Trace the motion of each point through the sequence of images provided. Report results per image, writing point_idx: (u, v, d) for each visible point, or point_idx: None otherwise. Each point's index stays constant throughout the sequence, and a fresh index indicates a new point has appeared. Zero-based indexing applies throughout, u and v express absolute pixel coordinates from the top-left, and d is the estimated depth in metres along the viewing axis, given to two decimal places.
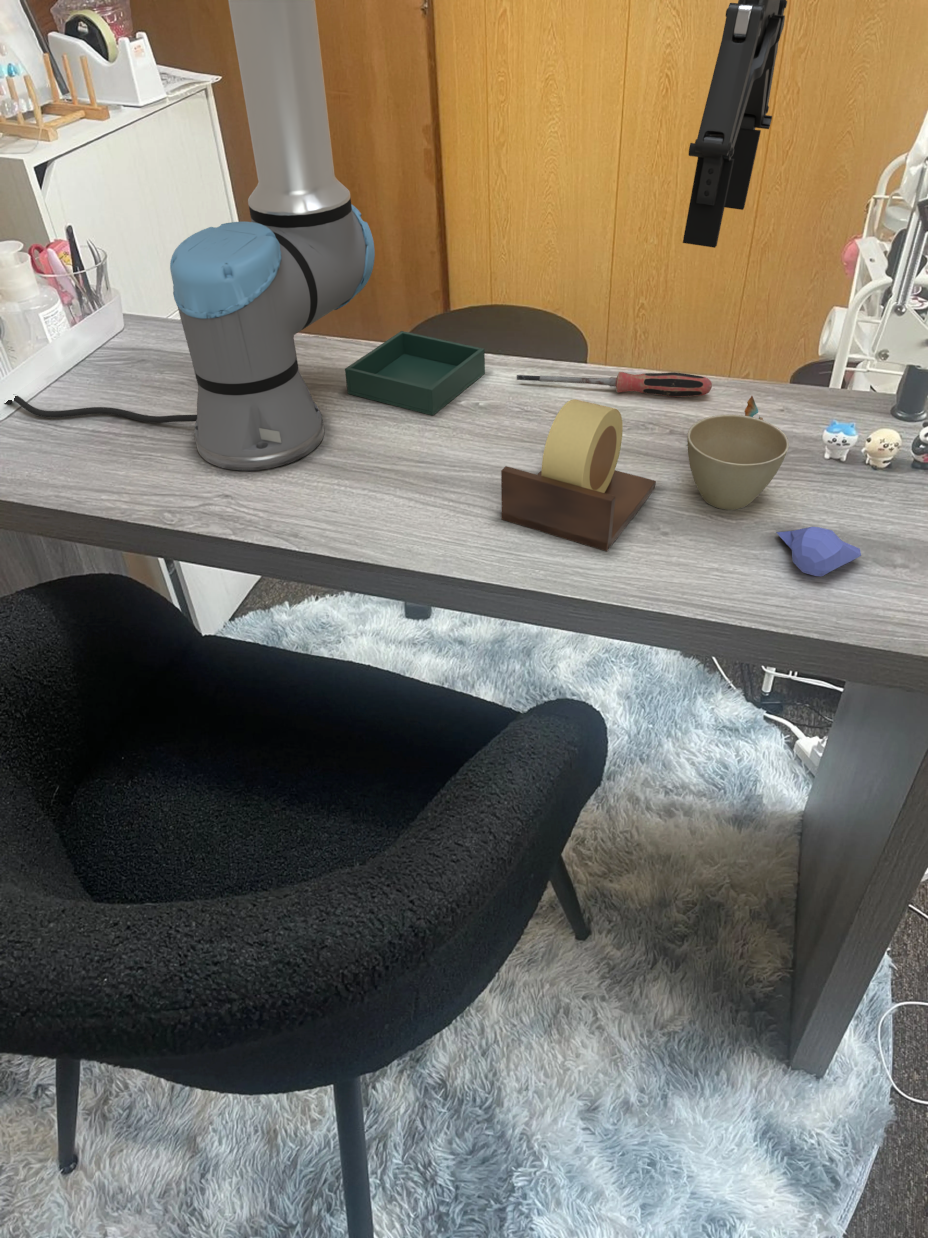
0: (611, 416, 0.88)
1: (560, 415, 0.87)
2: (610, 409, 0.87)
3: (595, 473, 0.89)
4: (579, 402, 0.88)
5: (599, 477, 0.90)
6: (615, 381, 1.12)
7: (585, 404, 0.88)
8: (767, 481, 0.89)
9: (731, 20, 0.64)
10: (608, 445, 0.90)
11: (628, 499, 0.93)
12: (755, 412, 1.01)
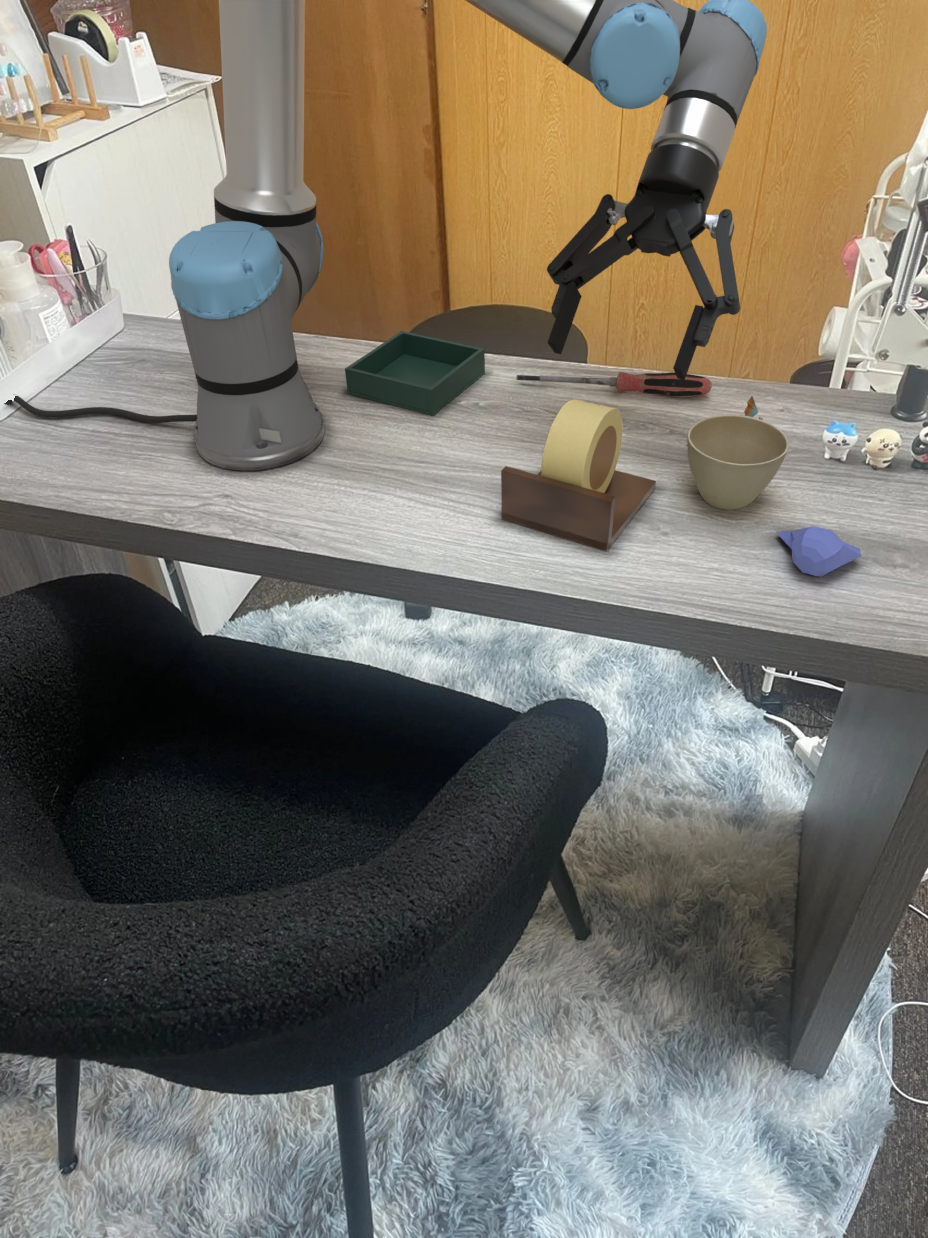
0: (611, 416, 0.88)
1: (560, 415, 0.87)
2: (610, 409, 0.87)
3: (595, 473, 0.89)
4: (579, 402, 0.88)
5: (599, 477, 0.90)
6: (615, 381, 1.12)
7: (585, 404, 0.88)
8: (767, 481, 0.89)
9: (731, 221, 0.86)
10: (608, 445, 0.90)
11: (628, 499, 0.93)
12: (755, 412, 1.01)
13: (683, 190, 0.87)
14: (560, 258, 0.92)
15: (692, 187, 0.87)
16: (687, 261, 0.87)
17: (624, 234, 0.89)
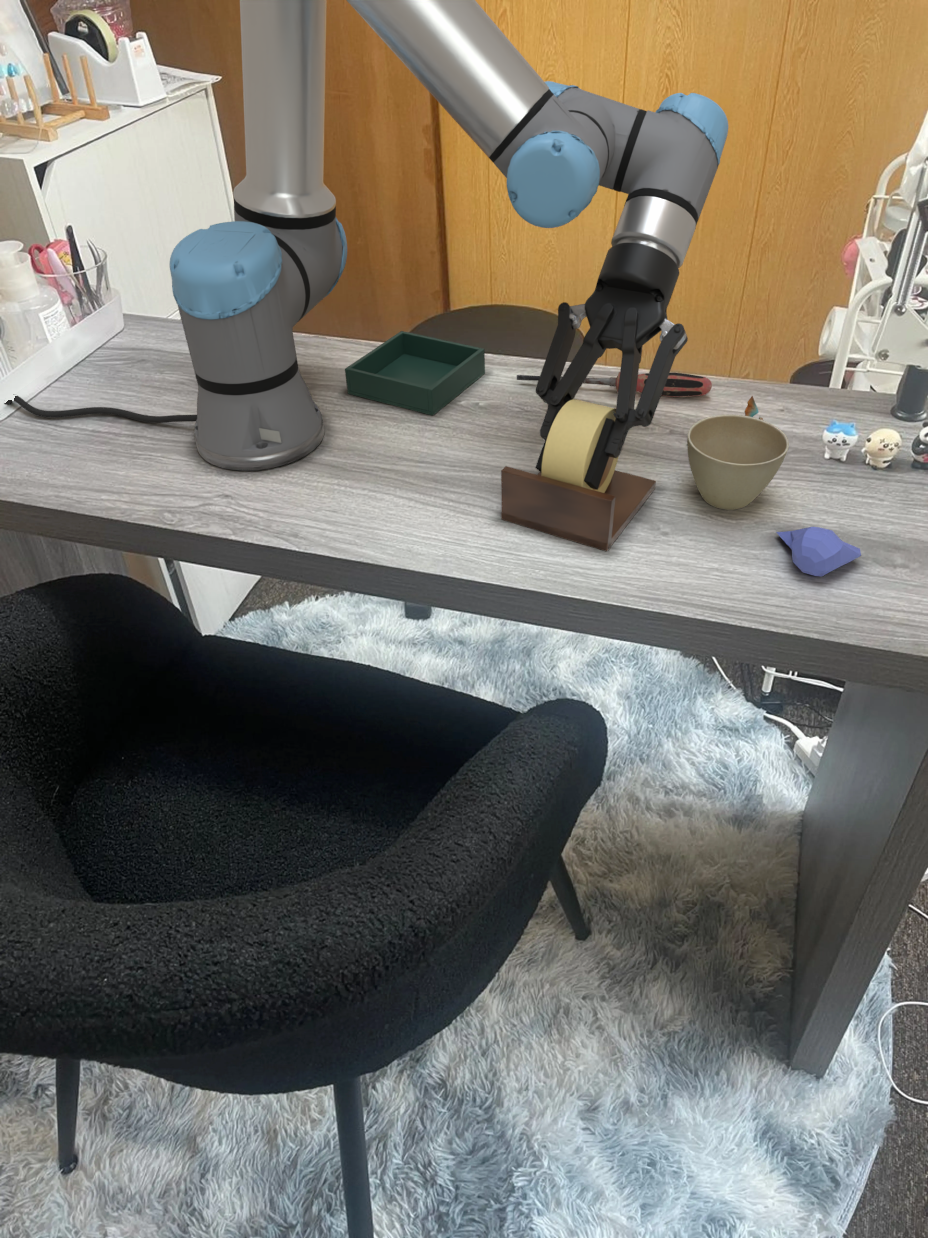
0: (611, 416, 0.88)
1: (560, 415, 0.87)
2: (610, 409, 0.87)
3: None
4: (579, 402, 0.88)
5: None
6: (615, 381, 1.12)
7: (585, 404, 0.88)
8: (767, 481, 0.89)
9: (679, 338, 0.85)
10: None
11: (628, 499, 0.93)
12: (755, 412, 1.01)
13: (642, 288, 0.86)
14: (544, 377, 0.90)
15: (651, 287, 0.85)
16: (622, 365, 0.87)
17: (594, 338, 0.88)
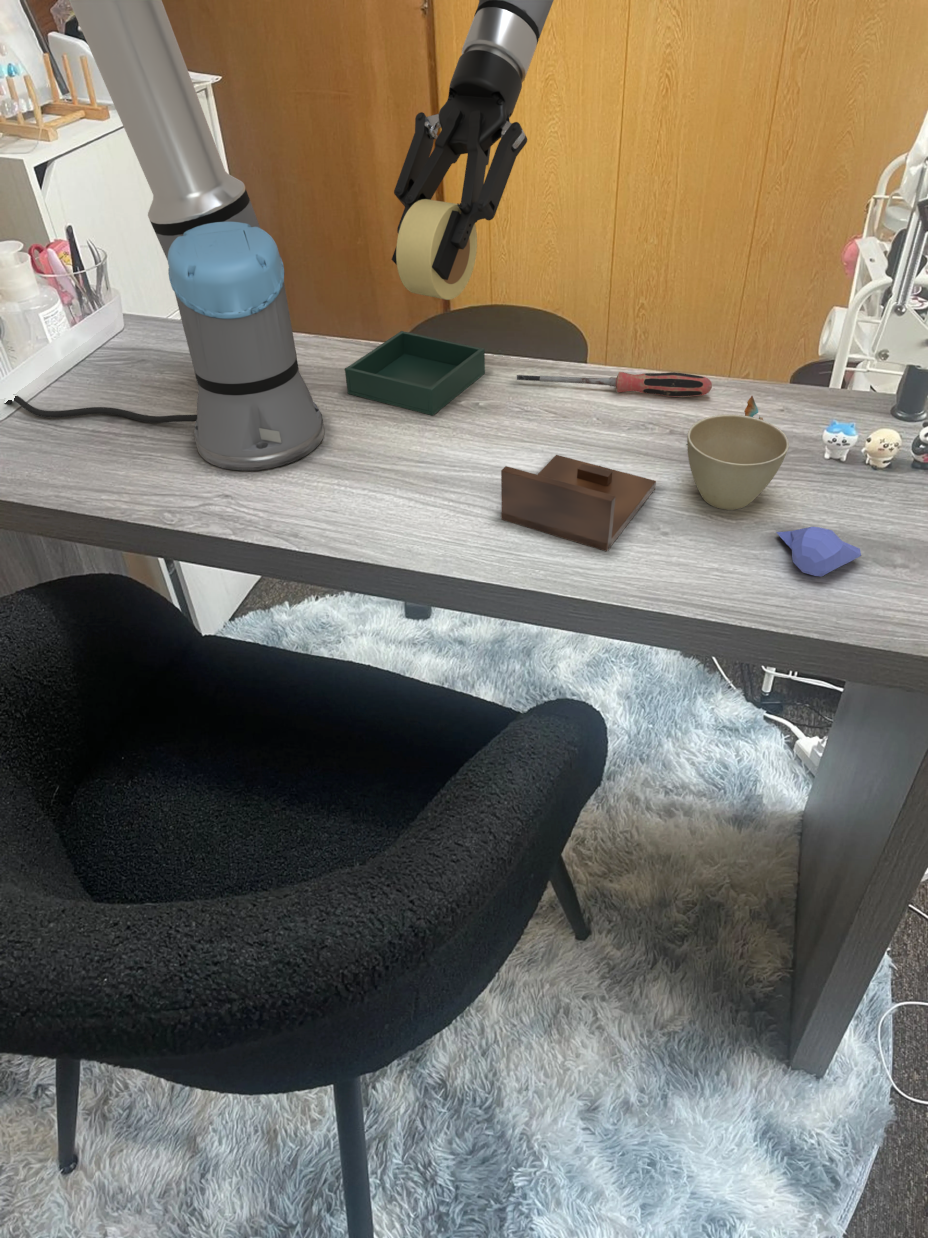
0: (459, 211, 0.97)
1: (412, 208, 0.96)
2: None
3: None
4: (431, 200, 0.98)
5: (451, 271, 1.00)
6: (615, 381, 1.12)
7: (436, 201, 0.97)
8: (767, 481, 0.89)
9: (517, 135, 0.94)
10: None
11: (628, 499, 0.93)
12: (755, 412, 1.01)
13: (485, 92, 0.95)
14: (402, 179, 0.99)
15: (491, 89, 0.95)
16: (467, 163, 0.96)
17: (444, 140, 0.97)
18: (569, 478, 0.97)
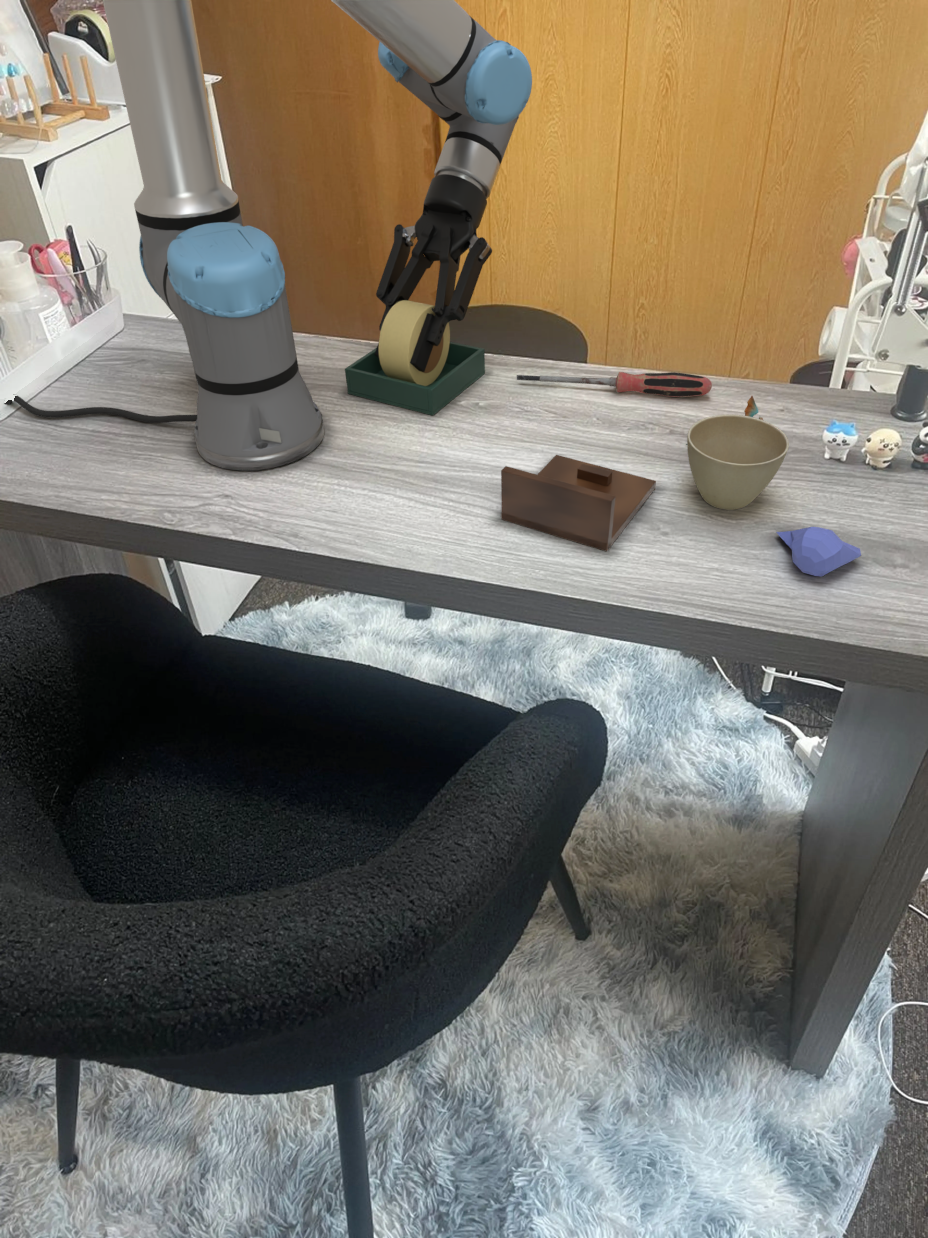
0: None
1: (392, 310, 1.10)
2: (431, 305, 1.10)
3: None
4: (409, 301, 1.12)
5: None
6: (615, 381, 1.12)
7: (413, 302, 1.11)
8: (767, 481, 0.89)
9: (482, 249, 1.08)
10: None
11: (628, 499, 0.93)
12: (755, 412, 1.01)
13: (455, 210, 1.09)
14: (383, 283, 1.13)
15: (460, 208, 1.08)
16: (440, 271, 1.10)
17: (419, 250, 1.11)
18: (569, 478, 0.97)
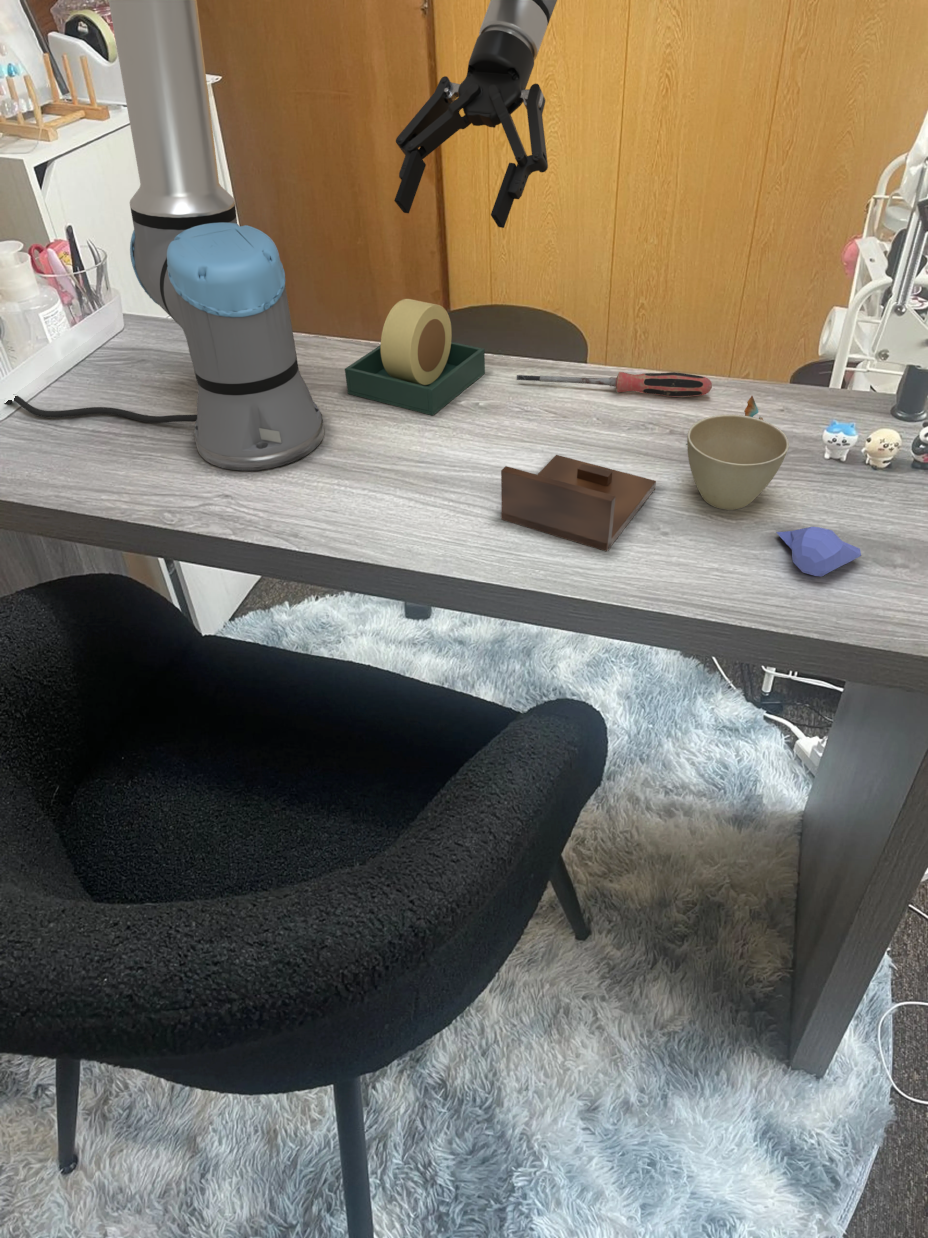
0: (436, 310, 1.11)
1: (395, 307, 1.11)
2: (435, 304, 1.11)
3: (424, 356, 1.12)
4: (412, 300, 1.12)
5: (428, 361, 1.14)
6: (615, 381, 1.12)
7: (416, 301, 1.12)
8: (767, 481, 0.89)
9: (539, 94, 1.04)
10: (436, 336, 1.13)
11: (628, 499, 0.93)
12: (755, 412, 1.01)
13: (502, 68, 1.05)
14: (406, 131, 1.10)
15: (507, 65, 1.04)
16: (504, 127, 1.05)
17: (455, 107, 1.07)
18: (569, 478, 0.97)
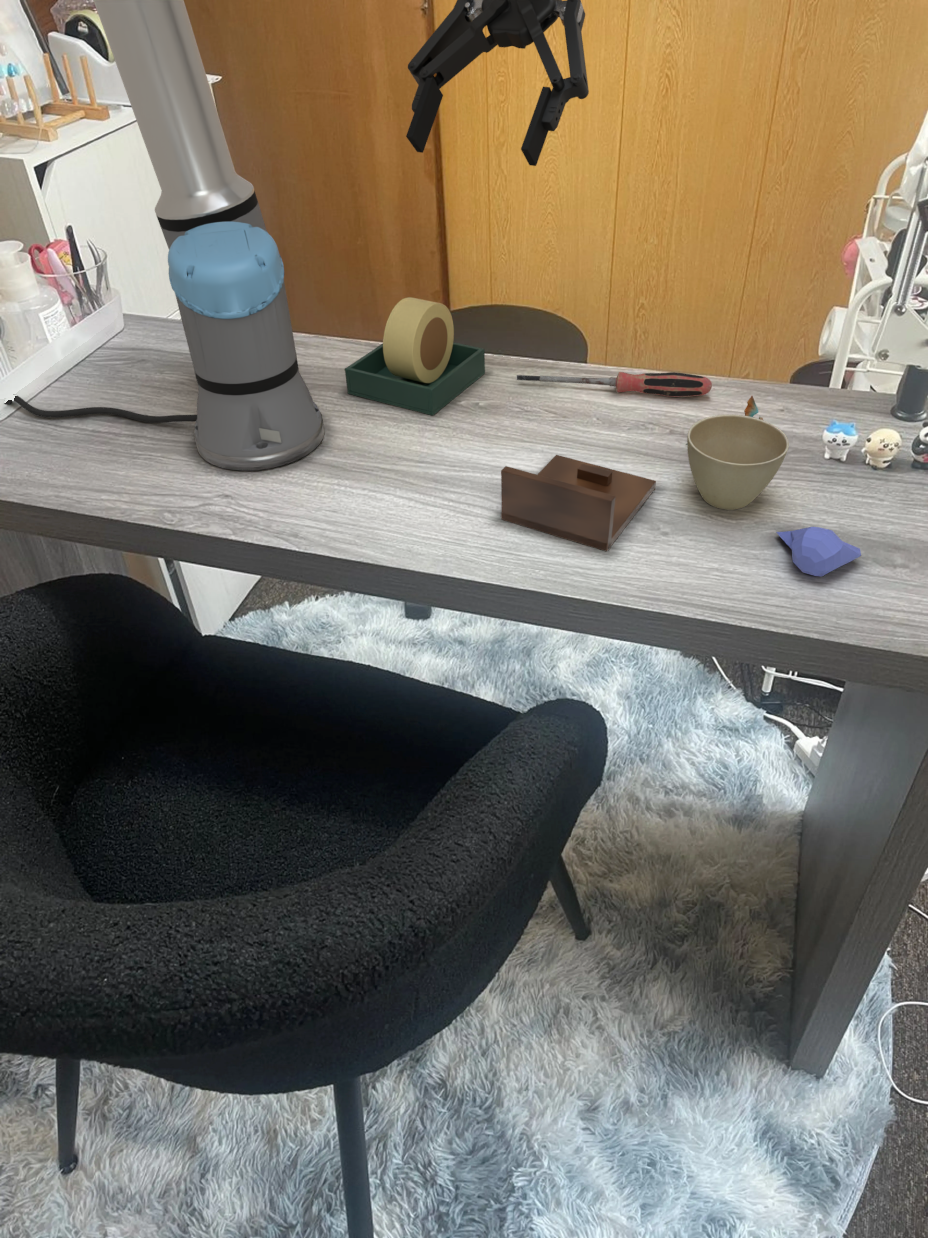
0: (440, 309, 1.12)
1: (400, 303, 1.11)
2: None
3: (426, 352, 1.12)
4: None
5: (430, 358, 1.14)
6: (615, 381, 1.12)
7: (421, 299, 1.13)
8: (767, 481, 0.89)
9: (578, 5, 0.88)
10: (439, 335, 1.14)
11: (628, 499, 0.93)
12: (755, 412, 1.01)
13: None
14: (420, 54, 0.94)
15: None
16: (537, 46, 0.88)
17: (479, 24, 0.91)
18: (569, 478, 0.97)
